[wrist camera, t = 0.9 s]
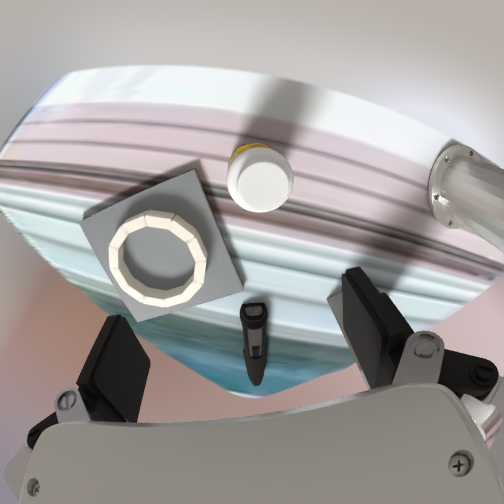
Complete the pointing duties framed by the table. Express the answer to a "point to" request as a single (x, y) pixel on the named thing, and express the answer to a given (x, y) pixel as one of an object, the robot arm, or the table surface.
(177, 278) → the collar
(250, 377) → the electric trimmer
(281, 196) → the supplement bottle
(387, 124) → the table surface
